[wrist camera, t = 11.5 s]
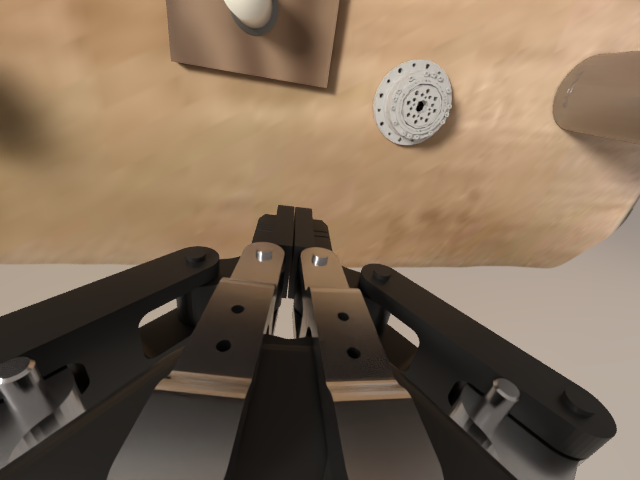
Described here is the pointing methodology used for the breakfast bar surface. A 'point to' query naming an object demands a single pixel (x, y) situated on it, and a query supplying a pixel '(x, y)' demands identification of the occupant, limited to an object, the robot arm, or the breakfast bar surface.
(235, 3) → the peg
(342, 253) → the breakfast bar surface
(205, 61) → the board
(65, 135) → the breakfast bar surface
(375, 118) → the mechanical component
